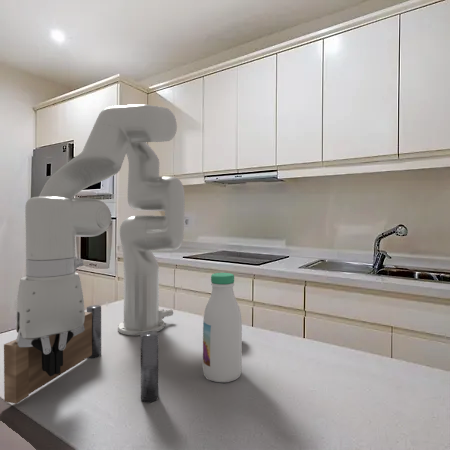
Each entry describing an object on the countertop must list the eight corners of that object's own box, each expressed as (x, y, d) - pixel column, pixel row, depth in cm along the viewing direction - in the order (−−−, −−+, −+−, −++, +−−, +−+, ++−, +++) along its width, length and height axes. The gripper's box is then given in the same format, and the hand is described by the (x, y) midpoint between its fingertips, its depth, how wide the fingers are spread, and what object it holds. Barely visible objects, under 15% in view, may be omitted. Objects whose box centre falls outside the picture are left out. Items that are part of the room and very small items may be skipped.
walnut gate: (93, 355, 71) (93, 312, 71) (16, 403, 52) (15, 345, 52) (84, 353, 71) (84, 311, 71) (4, 401, 53) (3, 344, 53)
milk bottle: (246, 368, 67) (246, 272, 67) (235, 386, 60) (235, 278, 59) (211, 362, 70) (211, 270, 69) (196, 379, 62) (196, 276, 62)
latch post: (152, 391, 58) (152, 330, 58) (161, 397, 56) (161, 334, 56) (137, 397, 56) (137, 334, 56) (146, 404, 54) (146, 339, 54)
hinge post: (98, 351, 75) (97, 304, 75) (103, 355, 73) (103, 307, 73) (84, 355, 73) (84, 307, 73) (90, 359, 71) (89, 309, 70)
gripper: (86, 261, 64) (87, 353, 65) (-5, 270, 54) (-3, 379, 54) (102, 266, 59) (103, 365, 59) (4, 276, 48) (6, 397, 49)
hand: (52, 372), depth 57 cm, fingers closed
